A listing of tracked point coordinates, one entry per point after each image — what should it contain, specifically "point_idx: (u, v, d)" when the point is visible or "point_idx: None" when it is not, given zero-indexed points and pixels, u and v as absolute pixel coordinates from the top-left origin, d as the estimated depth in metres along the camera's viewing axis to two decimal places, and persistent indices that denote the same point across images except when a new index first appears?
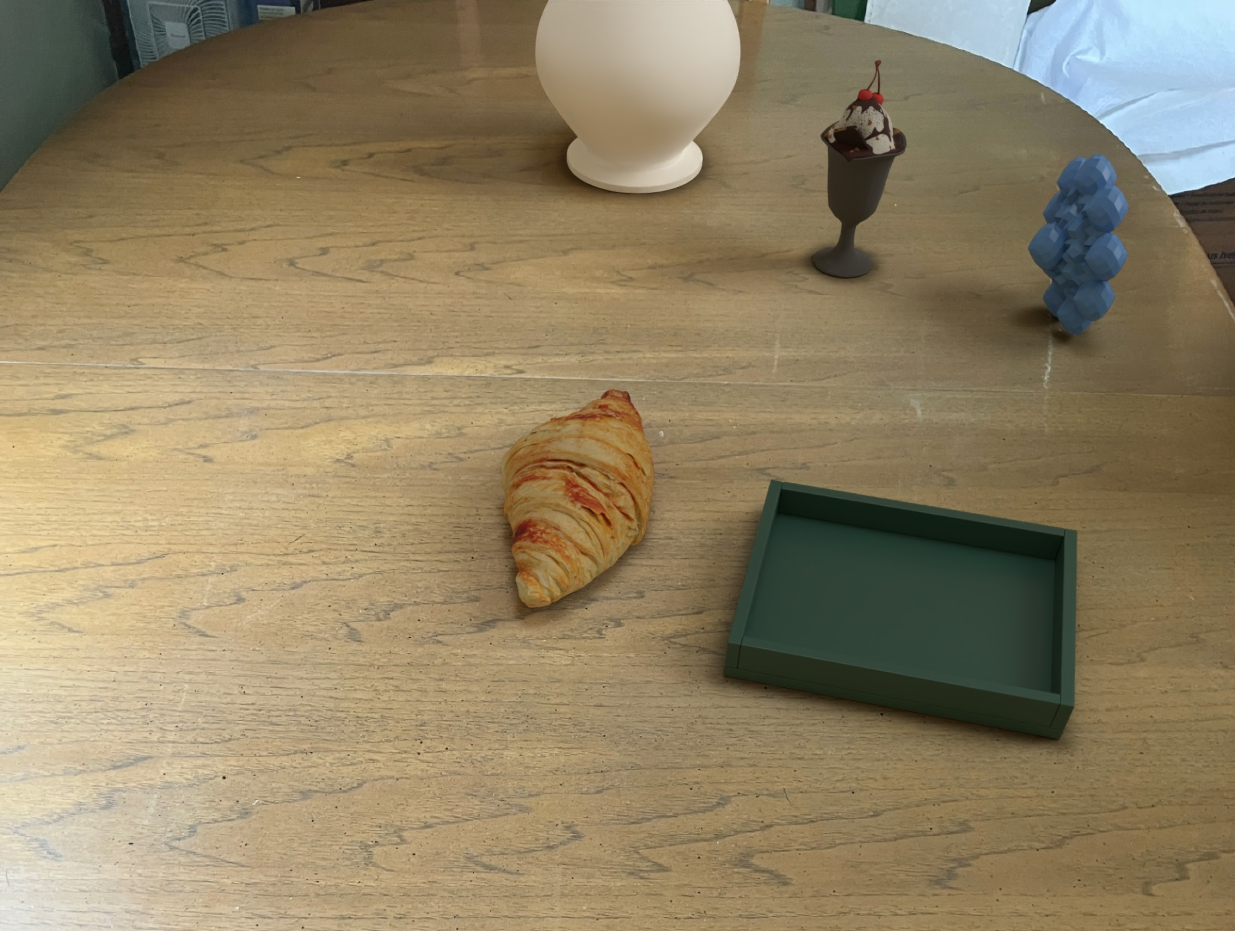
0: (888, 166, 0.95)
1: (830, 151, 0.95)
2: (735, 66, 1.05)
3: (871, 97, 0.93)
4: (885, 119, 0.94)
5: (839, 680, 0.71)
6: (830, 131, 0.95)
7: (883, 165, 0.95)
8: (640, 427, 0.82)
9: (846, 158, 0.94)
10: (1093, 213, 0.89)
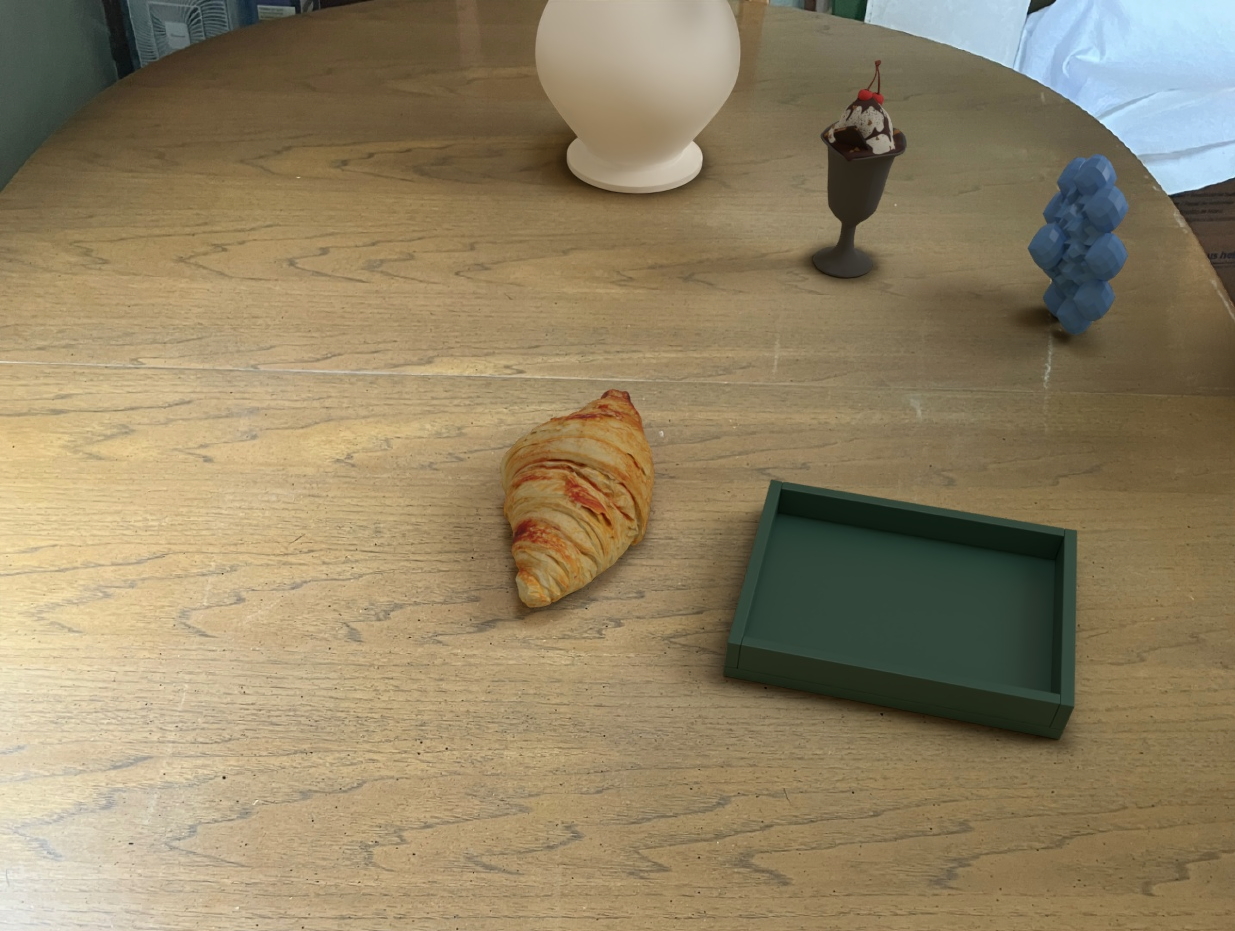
0: (888, 166, 0.95)
1: (830, 151, 0.95)
2: (735, 66, 1.05)
3: (871, 97, 0.93)
4: (885, 119, 0.94)
5: (839, 680, 0.71)
6: (830, 131, 0.95)
7: (883, 165, 0.95)
8: (640, 427, 0.82)
9: (846, 158, 0.94)
10: (1093, 213, 0.89)
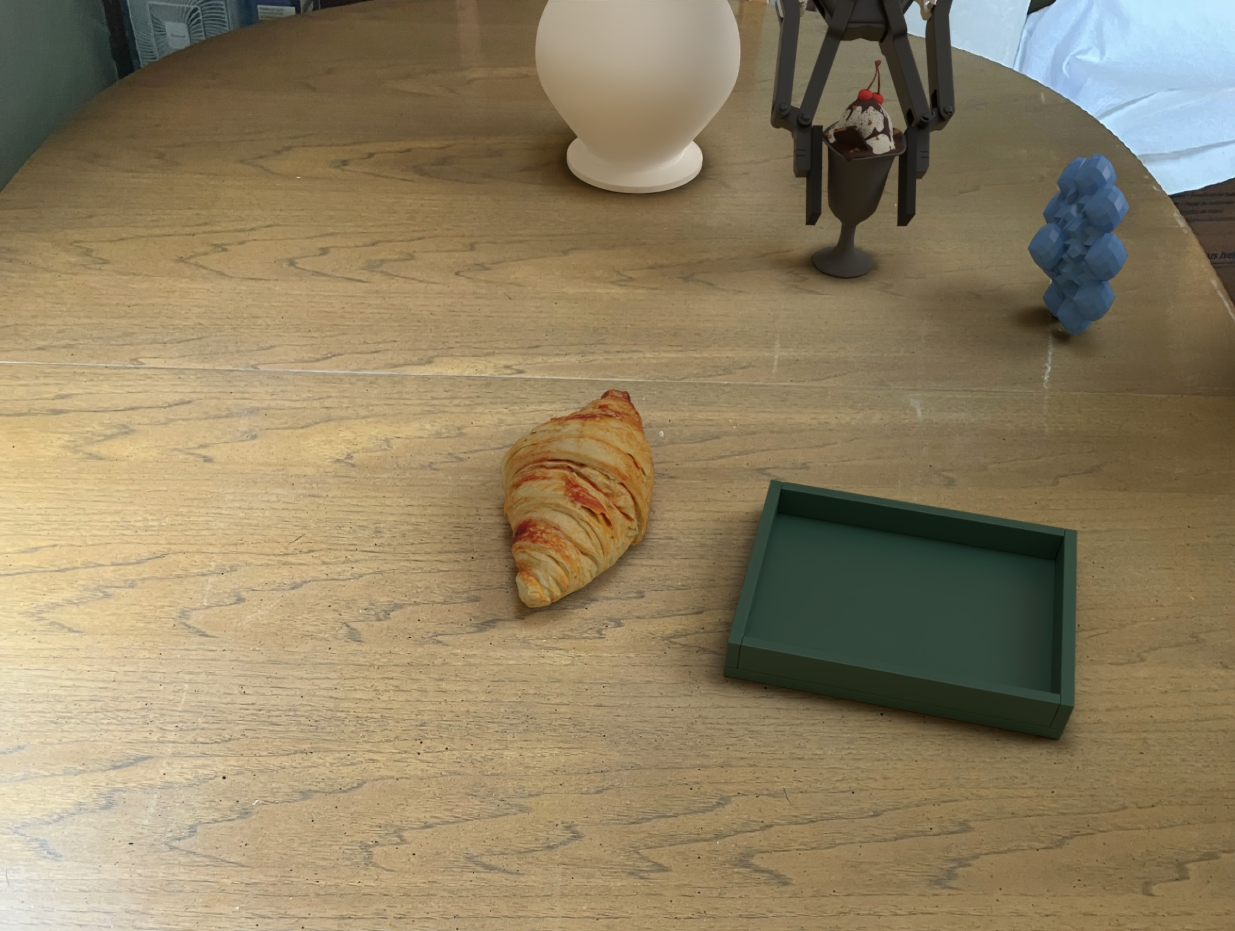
0: (888, 166, 0.95)
1: (830, 151, 0.95)
2: (735, 66, 1.05)
3: (871, 97, 0.93)
4: (885, 119, 0.94)
5: (839, 680, 0.71)
6: (830, 131, 0.95)
7: (883, 165, 0.95)
8: (640, 427, 0.82)
9: (846, 158, 0.94)
10: (1093, 213, 0.89)
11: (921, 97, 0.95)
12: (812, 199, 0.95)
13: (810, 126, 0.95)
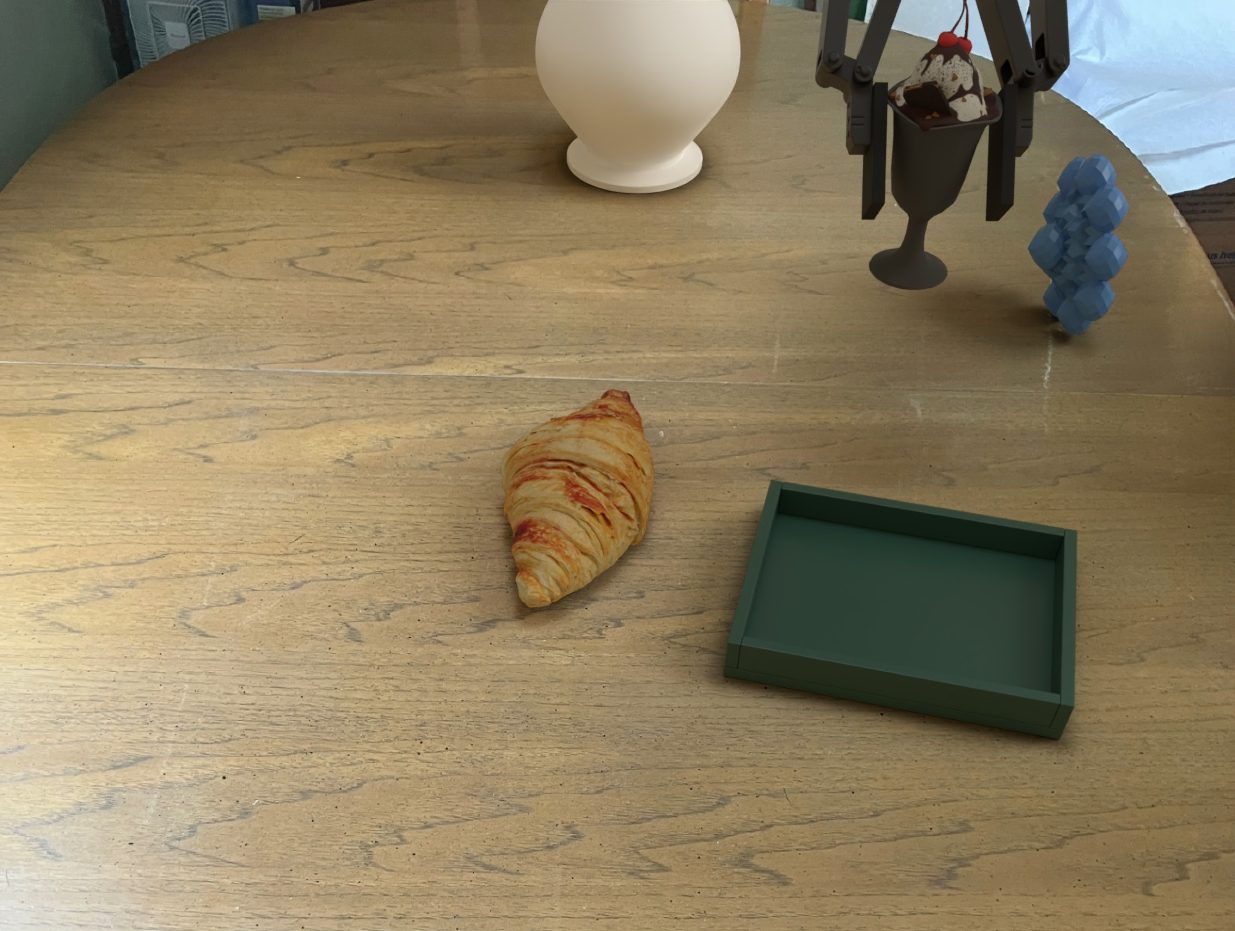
0: (977, 139, 0.70)
1: (897, 118, 0.70)
2: (735, 66, 1.05)
3: (956, 42, 0.67)
4: (975, 73, 0.68)
5: (839, 680, 0.71)
6: (898, 90, 0.69)
7: (970, 137, 0.69)
8: (640, 427, 0.82)
9: (921, 127, 0.68)
10: (1093, 213, 0.89)
11: (1023, 44, 0.69)
12: (872, 184, 0.70)
13: (870, 84, 0.70)
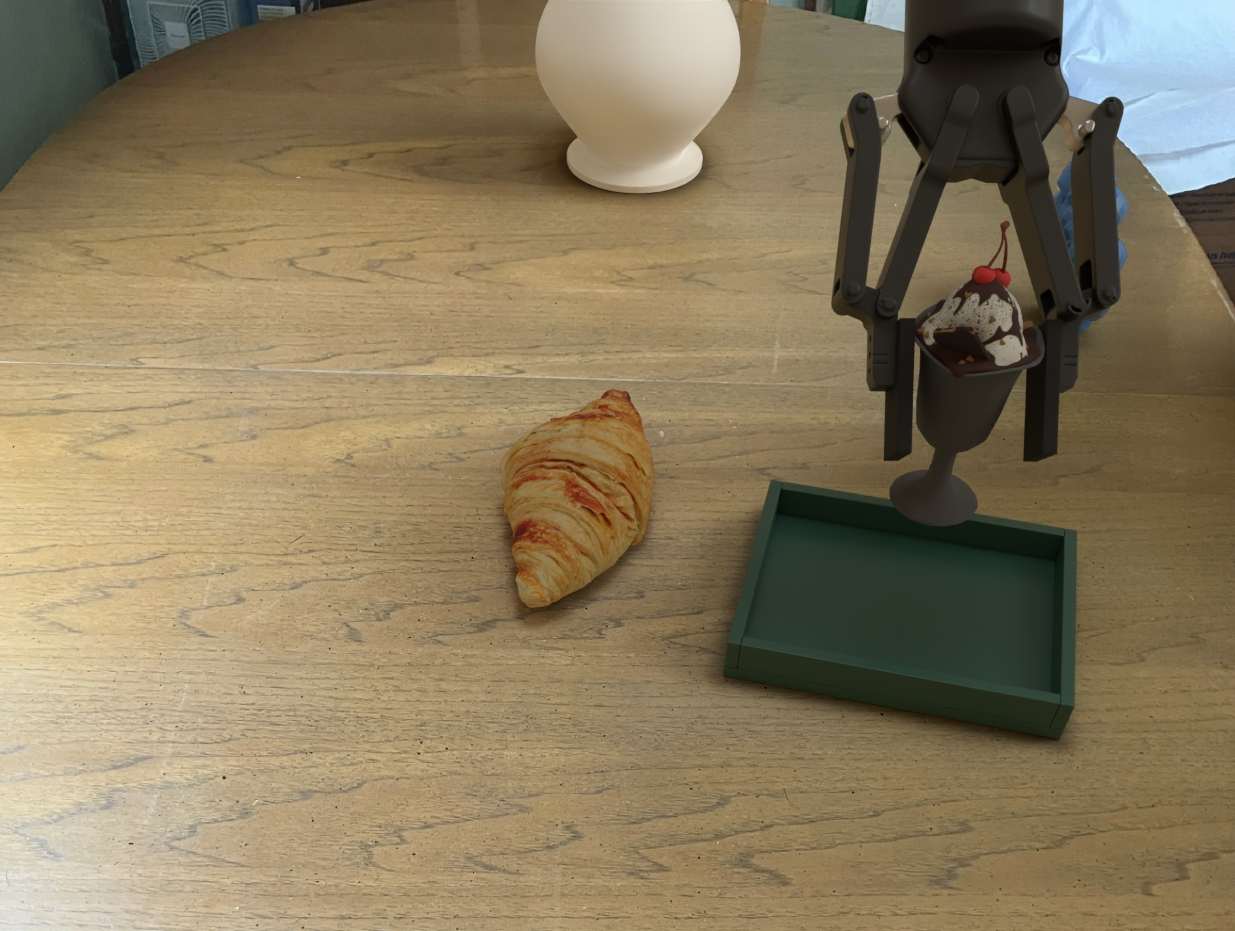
0: (1015, 379, 0.61)
1: (925, 356, 0.61)
2: (735, 66, 1.05)
3: (994, 279, 0.59)
4: (1014, 311, 0.60)
5: (839, 680, 0.71)
6: (926, 326, 0.61)
7: (1009, 380, 0.61)
8: (640, 427, 0.82)
9: (953, 373, 0.60)
10: None
11: (1068, 275, 0.61)
12: (898, 431, 0.61)
13: (895, 318, 0.61)
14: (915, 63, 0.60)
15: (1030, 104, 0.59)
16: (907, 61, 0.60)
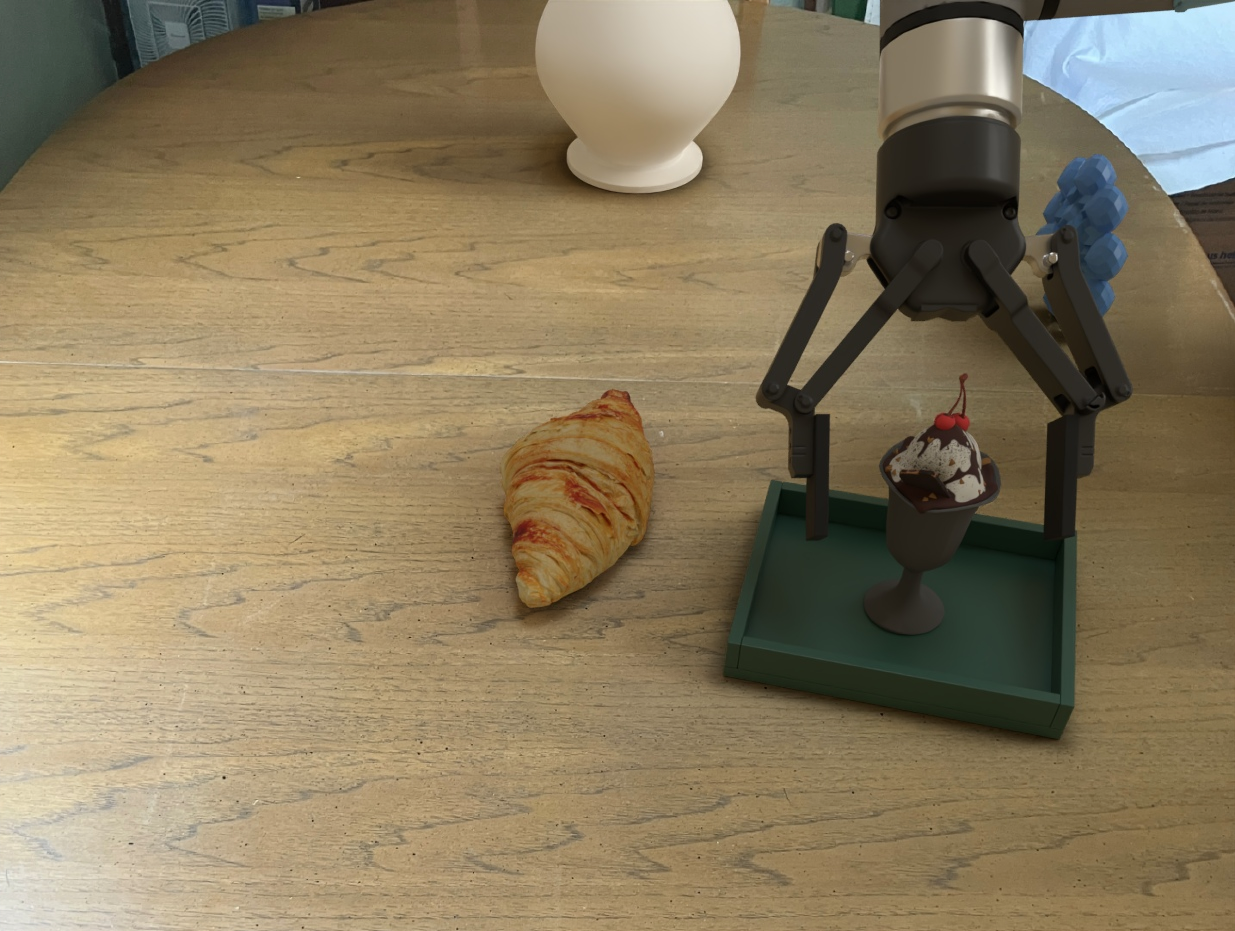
0: (975, 511, 0.68)
1: None
2: (735, 66, 1.05)
3: (954, 425, 0.66)
4: (972, 453, 0.66)
5: (839, 680, 0.71)
6: (894, 464, 0.68)
7: (968, 513, 0.67)
8: (640, 427, 0.82)
9: (918, 509, 0.66)
10: (1093, 213, 0.89)
11: (1075, 377, 0.67)
12: (815, 516, 0.67)
13: (812, 413, 0.67)
14: (885, 218, 0.66)
15: (990, 256, 0.65)
16: (878, 215, 0.66)
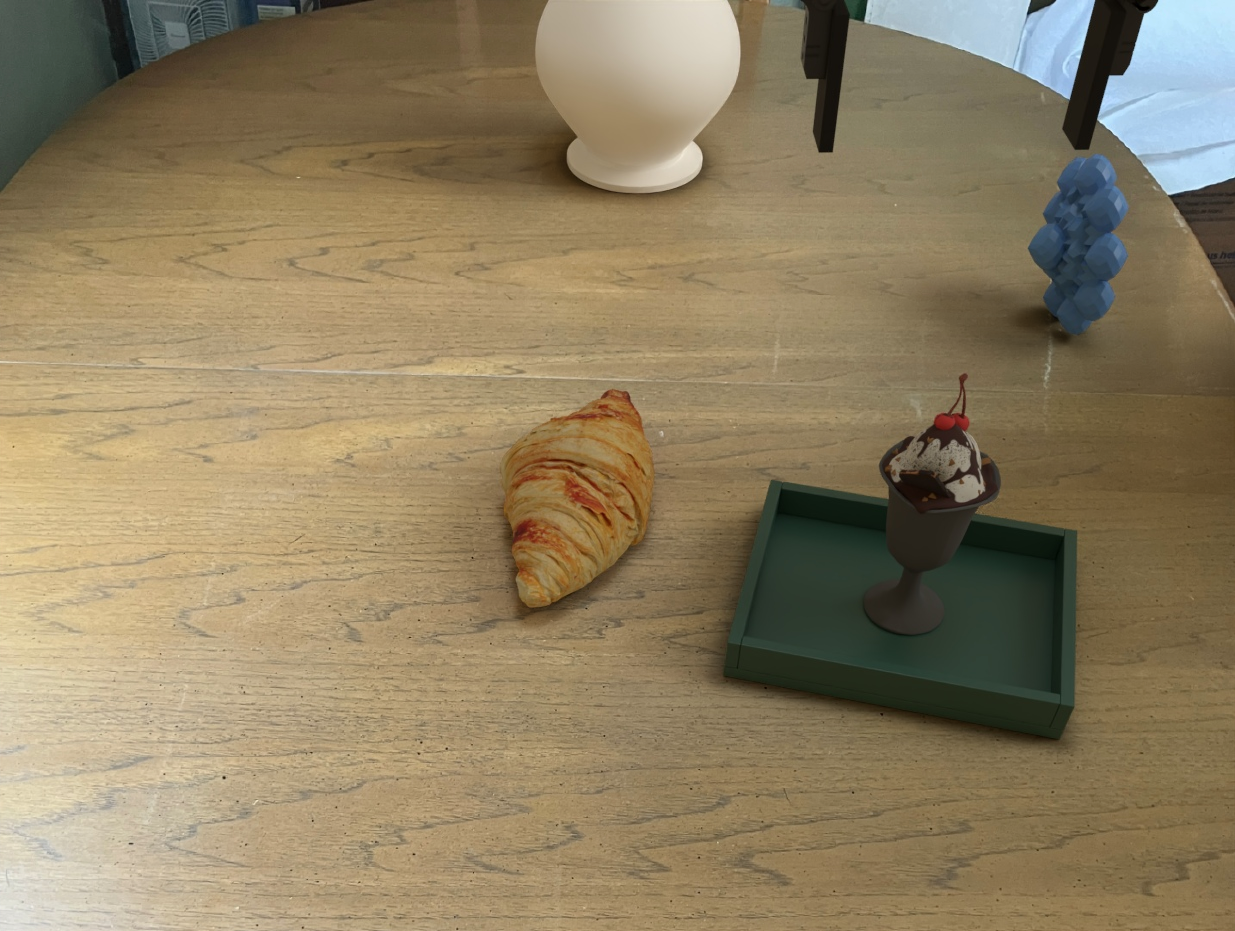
0: (974, 512, 0.68)
1: None
2: (735, 66, 1.05)
3: (953, 425, 0.66)
4: (972, 453, 0.66)
5: (839, 680, 0.71)
6: (893, 464, 0.68)
7: (968, 513, 0.67)
8: (640, 427, 0.82)
9: (917, 510, 0.66)
10: (1093, 213, 0.89)
11: None
12: (822, 130, 0.64)
13: None
14: None
15: None
16: None
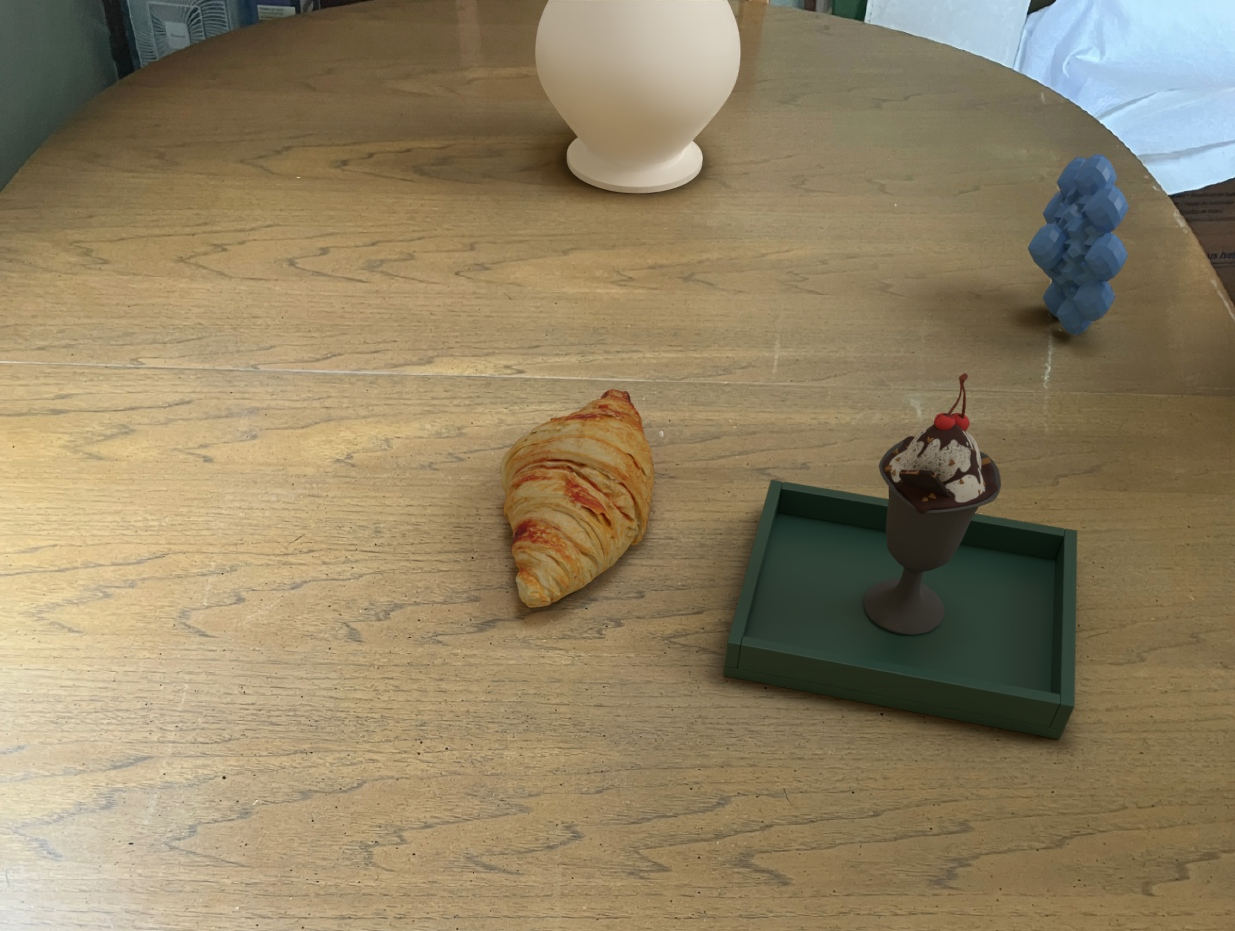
0: (975, 512, 0.68)
1: None
2: (735, 66, 1.05)
3: (953, 425, 0.66)
4: (972, 453, 0.66)
5: (839, 680, 0.71)
6: (893, 464, 0.68)
7: (968, 513, 0.67)
8: (640, 427, 0.82)
9: (917, 510, 0.66)
10: (1093, 213, 0.89)
11: None
12: None
13: None
14: None
15: None
16: None
